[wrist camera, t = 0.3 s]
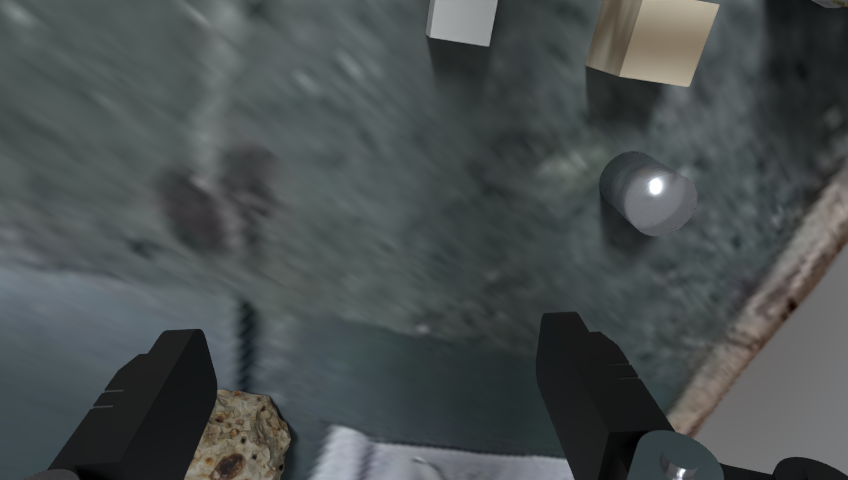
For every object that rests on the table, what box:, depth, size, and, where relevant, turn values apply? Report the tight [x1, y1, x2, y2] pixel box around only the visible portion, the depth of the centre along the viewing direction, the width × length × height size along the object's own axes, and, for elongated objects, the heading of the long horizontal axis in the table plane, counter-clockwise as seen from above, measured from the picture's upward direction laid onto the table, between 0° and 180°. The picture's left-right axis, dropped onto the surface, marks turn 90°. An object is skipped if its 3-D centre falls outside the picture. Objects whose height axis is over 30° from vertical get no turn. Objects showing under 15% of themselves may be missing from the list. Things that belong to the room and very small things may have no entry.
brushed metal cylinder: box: [599, 151, 697, 236], centre depth 38 cm, size 5×5×6 cm
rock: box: [184, 390, 291, 480], centre depth 49 cm, size 21×14×10 cm
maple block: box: [585, 0, 719, 87], centre depth 33 cm, size 5×5×6 cm
